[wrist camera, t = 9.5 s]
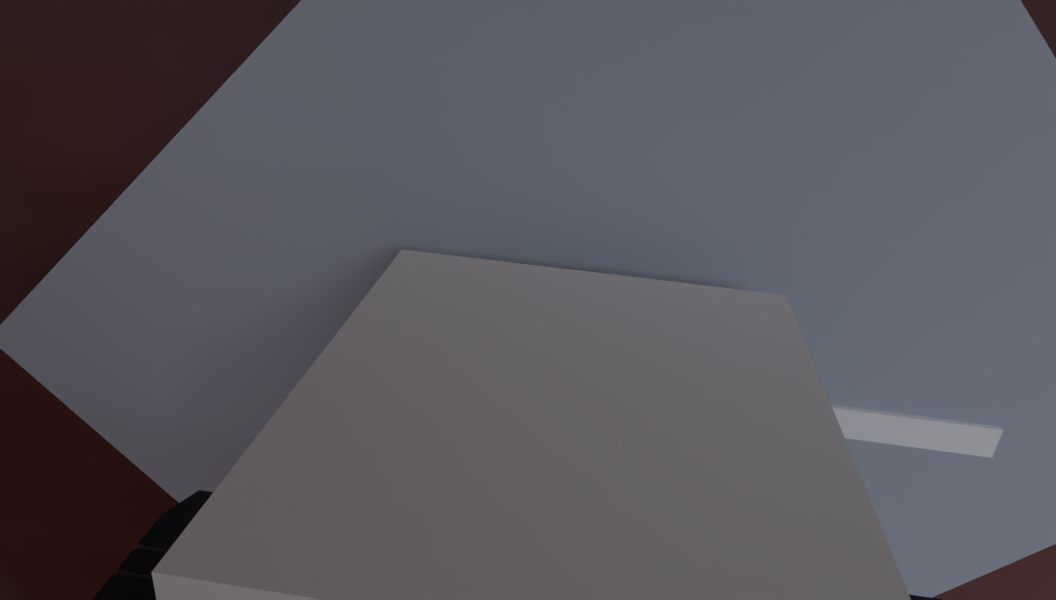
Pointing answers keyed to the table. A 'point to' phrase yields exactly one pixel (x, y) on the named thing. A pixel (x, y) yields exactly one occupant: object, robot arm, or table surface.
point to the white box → (545, 453)
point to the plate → (610, 223)
